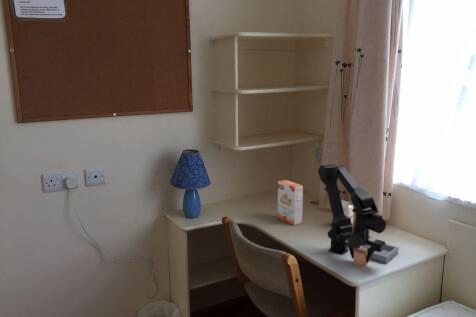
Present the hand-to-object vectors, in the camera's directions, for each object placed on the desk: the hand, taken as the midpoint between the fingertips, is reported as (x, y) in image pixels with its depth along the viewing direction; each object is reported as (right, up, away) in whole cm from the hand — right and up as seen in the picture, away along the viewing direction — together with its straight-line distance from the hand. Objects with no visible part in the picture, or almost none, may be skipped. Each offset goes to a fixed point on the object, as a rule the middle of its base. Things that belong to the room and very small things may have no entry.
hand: (360, 260), depth 180 cm
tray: (+10, +1, +9) cm, 13 cm away
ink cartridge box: (+3, +7, +41) cm, 42 cm away
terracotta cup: (0, -1, 0) cm, 1 cm away
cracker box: (-23, +9, +51) cm, 56 cm away
